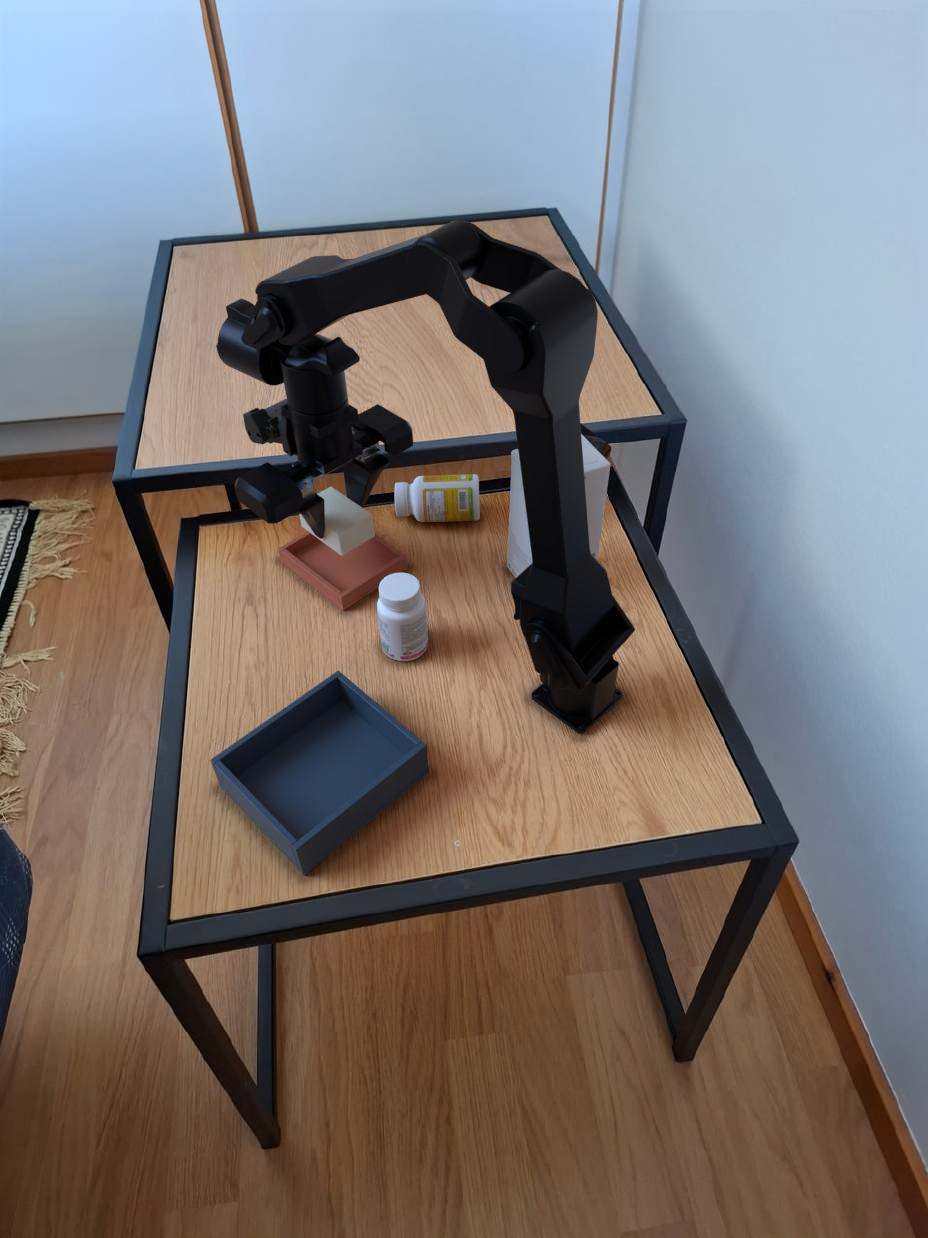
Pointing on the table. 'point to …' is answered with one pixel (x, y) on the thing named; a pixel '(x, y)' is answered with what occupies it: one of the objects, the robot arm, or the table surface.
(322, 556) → the tray
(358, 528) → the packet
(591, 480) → the cosmetic box
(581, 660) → the robot arm
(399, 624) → the pill bottle
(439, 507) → the supplement bottle
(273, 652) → the table surface
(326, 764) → the box
